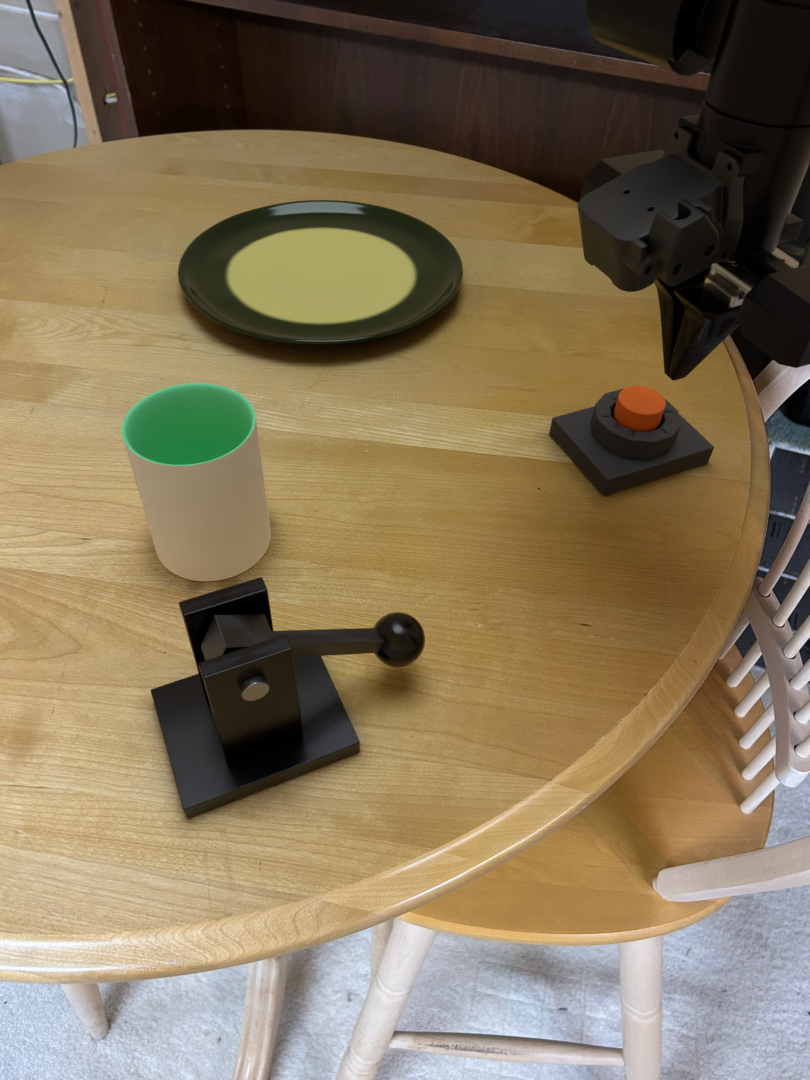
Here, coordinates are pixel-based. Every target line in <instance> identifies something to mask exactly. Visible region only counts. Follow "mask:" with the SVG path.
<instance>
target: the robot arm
mask: <svg viewBox="0 0 810 1080" xmlns="http://www.w3.org/2000/svg"><path fill="white" fill-rule="evenodd" d="M585 12H586V22H587V24H588V28H589V30H590V33H591V35H592V36H593V37H594V39H595V40H596V41H597V42H599V43H601V44H602V45H604V46H606V47H609V48H611V49H614V50H617V51H619V52H621V53H624V54H626V55H629V56H630V57H631V56H632V57H634V58H636V59H639V60H642V61H644V62H645V63H649V64H651V65H654V66H657V67H660V68H662V69H664V70H667V71H669V72H672V73H674V74H677V75H679V76H684V77H685V76H686V77H691V76H694V75H697V74H699V73H700V72H702V71H704V70H706V69H707V68H708V67H709V66H710V65H712V64H713V65H712V69H711V71H710V72H711V73H710V76H709V79H708V83H707V86H706V89H705V95H704V98H703V101H702V104H701V108H700V111H699V113H698V114H693V115H687V116H680V117H679V119H678V123H677V126H675V127H674V128H673V129H672V130H671V133H670V137H669V140H668V145H667V146H666V149H665V151H664V150H663V149H655V150H648V151H643V152H637V153H630V154H623V155H619V156H612V157H606V158H601V159H599V160H598V161H597V162H596V164H595V165H594V166H593V167H592V168H591V169H590V170H589V171H588V172H587V173H586V175H585V176H584V177H583V182H582V187H581V193H580V198H579V202H578V203H577V213H578V220H579V228H580V235H581V244H582V251H583V259H584V260H585V262H586V263H588V265H589V266H594V267H595V268H597V269H598V270H599V271H600V272H601V273H602V274H604V275H605V276H606V277H607V278H608V279H610V281H611V283H612V285H613V286H615V287H616V288H617V289H619V290H620V291H623V292H628V293H634V292H640V291H642V290H645V289H646V288H649V287H650V286H652V285H653V284H654V286H655V288H656V291H657V297H658V298H657V299H658V306H659V311H660V312H659V313H660V326H661V328H660V329H661V342H662V343H661V344H662V356H663V357H662V358H663V359H662V360H663V372H664V374H665V375H666V376H667V377H668V378H669V379H670V380H671V381H678V380H682V379H684V378H686V377H687V376H689V374H690V373H692V371H694V369H696V368H697V366H699V365H700V364H701V363H702V362H703V361H704V360H705V359H706V358H707V357H708V356H709V355H710V354H712V352H713V351H714V350H715V349H716V348H717V347H718V346H719V345H720V344H721V343H722V342H723V341H724V340H725V339H726V338H728V337H729V336H730V335H731V334H732V333H733V332H734V331H735V330H736V329H737V328H738V327H740V330H741V333H742V337H743V338H745V339H746V340H747V341H748V342H749V343H751V344H752V345H754V347H756V348H758V349H759V350H760V351H761V352H762V353H764V354H765V355H767V356H768V357H769V358H770V359H772V360H773V361H774V362H775V363H777V364H778V365H779V366H780V365H781V366H785V367H789V368H794V369H798V368H801V367H806V366H809V365H810V263H809V264H806V265H801V266H799V265H800V262H799V261H798V260H796V259H795V258H793V257H792V256H790V255H789V254H787V253H786V252H784V251H783V250H781V249H780V248H778V247H777V246H778V245H780V244H784V243H789V242H792V241H797V240H798V238H799V236H800V233H801V231H802V229H803V226H804V223H805V220H803V219H802V218H800V217H798V216H797V215H795V214H793V213H792V209H793V207H794V204H795V202H796V199H797V197H798V194H799V192H800V190H801V187H802V183H803V181H804V178H805V176H806V174H807V171H808V168H809V166H810V0H586V2H585Z"/></svg>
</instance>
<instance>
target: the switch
mask: <svg viewBox="0 0 810 1080" xmlns="http://www.w3.org/2000/svg"><path fill="white" fill-rule="evenodd" d="M178 606H179V610H180V613H181V616H182V620H183V624H184V628H185V631H186V636H187V638H188V642H189V645H190V648H191V653H192V657H193V659H194V660H193V661H194V663H195V666H196V670H197V673H196V674H193V675H190V676H187V677H184V678H181V679H178V680H175V681H172V682H169V683H166V684H163V685H160V686H158V687H157V686H156V687H155V688H151V689H150V694H151V697H152V700H153V701H152V702H153V705H154V708H155V712H156V716H157V718H158V719H157V720H158V723H159V727H160V731H161V734H162V738H163V741H164V746H165V748H166V752H167V756H168V760H169V763H170V767H171V771H172V774H173V778H174V782H175V786H176V789H177V793H178V797H179V800H180V804H181V808H182V811H183V813H184V815H185V818H186V820H189V819H191V818H194V817H197V816H199V815H202V814H204V813H207V812H209V811H212V810H214V809H218V808H220V807H222V806H225V805H228V804H230V803H232V802H235V801H237V800H240V799H242V798H245V797H248V796H250V795H254V794H256V793H259V792H261V791H263V790H267V789H269V788H271V787H274V786H276V785H279V784H281V783H284V782H287V781H289V780H292V779H293V778H297V777H299V776H303V775H304V774H307V773H310V772H312V771H315V770H318V769H320V768H322V767H325V766H328V765H331V764H333V763H336V762H338V761H341V760H344V759H347V758H348V757H351V756H354V755H356V754H359V753H361V742H360V739H359V737H358V735H357V733H356V730H355V728H354V725H353V723H352V720H351V719H350V717H349V714H348V713H347V712H348V711H346V707H345V706H344V704H343V701H342V699H341V697H340V695H339V692H338V691H337V688H336V686H335V683H334V681H333V680H332V677H331V675H330V672H329V670H328V668H327V666H326V663H325V662H324V660H323V656H307V657H294V656H293V648H292V646H291V644H290V641H289V639H288V636H287V635H286V634H285V635H282V636H279V637H276V638H273V639H270V640H267V641H264V642H261V643H258V644H255V645H252V646H249V647H246V648H243V649H240V650H236V651H233V652H230V653H227V654H224V655H221V656H218V657H215V658H212V659H209V660H205V657H204V654H203V651H202V648H201V645H202V642H203V640H204V638H205V635H206V633H207V631H208V628H209V626H210V624H211V621H212V619H213V617H214V615H241V614H264V615H265V617H266V619H267V621H268V624H269V626H270V629H271V631H275V630H274V624H273V618H272V612H271V604H270V597H269V591H268V588H267V586H266V583H265V580H264V577H262V576H260V577H257V578H253V579H250V580H247V581H243V582H240V583H236V584H233V585H230V586H227V587H224V588H220V589H217V590H214V591H210V592H208V593H204V594H201V595H197V596H194V597H190V598H188V599H185V600H181V601H179V602H178Z"/></svg>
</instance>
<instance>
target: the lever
mask: <svg viewBox="0 0 810 1080" xmlns="http://www.w3.org/2000/svg"><path fill="white" fill-rule="evenodd" d="M285 634H286V635H287V636H288V639H289V641H290V644H291V646H292V648H293V656H294V657H307V656H321V657H324V656H325V657H327V656H345V655H363V654H374V656H375V657H376V658H377V660H379V662H381V663H382V664H384V665H386V666H389V667H392V668H404V667H407V666H410V665H411V664H413V663H415V662H416V661H417V660H418V659H419V657H421V655H422V653H423V651H424V649H425V645H426V635H425V630H424V629H423V626H422V625H421V623H420V622H419V620H418V619H416V617H414V616H413V615H411V614H410V613H406V612H401V611H393V612H390V613H386V614H385V615H383V616H381V617H380V618H379V619H378V620H377V621H376V623H375V624H374V625H373V627H362V628H360V627H357V628H326V629H291V630H274V631H271V629H270V626H269V624H268V621H267V619H266V617H265V615H264V614H241V615H214V617H213V619H212V621H211V624H210V626H209V628H208V631H207V633H206V635H205V638H204V640H203V642H202V645H201V648H202V651H203V654H204V657H205V660H209V659H212V658H215V657H218V656H221V655H224V654H227V653H230V652H233V651H236V650H240V649H243V648H246V647H249V646H252V645H255V644H258V643H261V642H264V641H267V640H270V639H273V638H276V637H279V636H282V635H285Z"/></svg>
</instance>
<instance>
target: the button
mask: <svg viewBox="0 0 810 1080" xmlns="http://www.w3.org/2000/svg"><path fill="white" fill-rule="evenodd" d="M622 389H623V390H622V391H621V392H620V393H619V395H618V399H617V403H616V406H615V410H614V418H615V420H616V421H617V422H618V423H619V424H620V425H622V426H624V427H626V428H629V429H631V430H633V431H644V432H648V431H651V430H654V429H655V428H657V427H658V426H659V424H660V421H661V418H662V415H663V412H664V409H665V406H666V401H665V399H666V398H665V397H664V395H663V394H661V393H660V392H659V391H657V390H655V389H653V388H651V387H648V386H643V385H630V386H627V387H625V388H622Z"/></svg>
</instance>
